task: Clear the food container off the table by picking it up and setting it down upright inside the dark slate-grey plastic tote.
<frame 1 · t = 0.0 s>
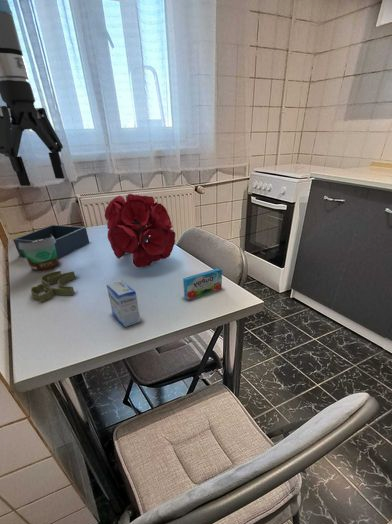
hand: (43, 181, 84), 28 cm above the table, tool pointing down, fingers open, 13 cm apart
light blue food packet: (203, 294, 85), on the table
medicine box: (126, 319, 76), on the table
bouquet: (141, 262, 107), on the table
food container: (49, 268, 105), on the table
tote: (56, 249, 122), on the table
cookie cutter: (55, 288, 92), on the table
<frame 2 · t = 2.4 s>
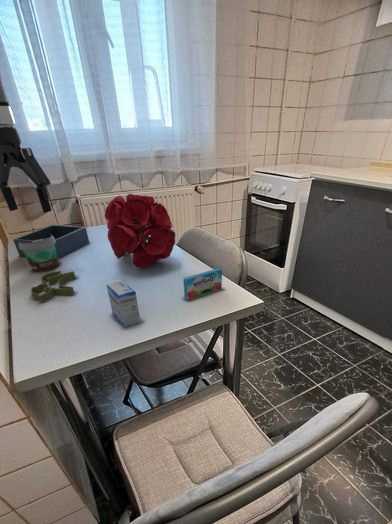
hand: (30, 210, 93), 19 cm above the table, tool pointing down, fingers open, 13 cm apart
nothing on the table moved.
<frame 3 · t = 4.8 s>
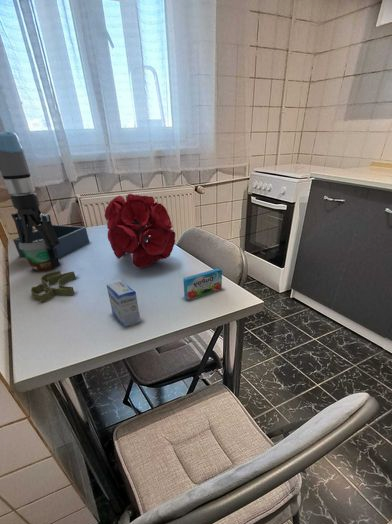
hand: (47, 265, 105), 1 cm above the table, tool pointing down, fingers closed on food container, 7 cm apart
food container: (49, 268, 105), on the table, touching gripper
everything else where it was.
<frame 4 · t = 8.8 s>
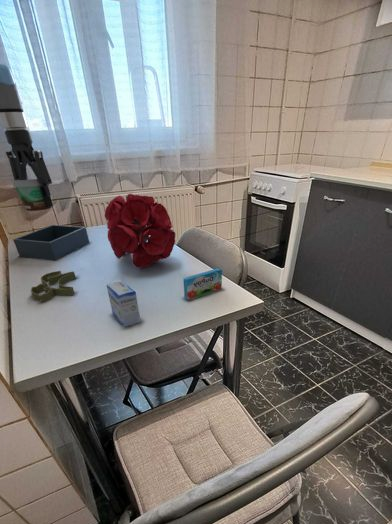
hand: (40, 205, 110), 17 cm above the table, tool pointing down, fingers closed on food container, 7 cm apart
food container: (42, 209, 111), point 16 cm above the table, touching gripper
everything else where it was.
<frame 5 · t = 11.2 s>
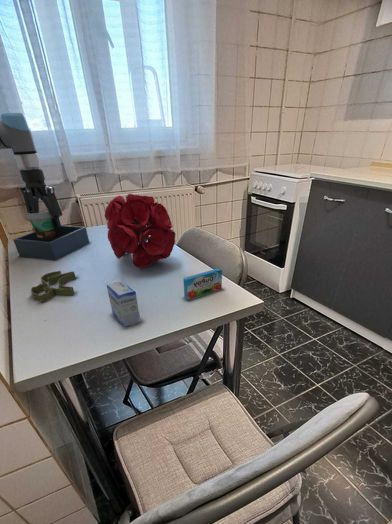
hand: (51, 234, 118), 6 cm above the table, tool pointing down, fingers closed on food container, 7 cm apart
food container: (53, 237, 119), point 5 cm above the table, touching gripper
everything else where it was.
when the fingers open (2 cm above the table, at t = 12.9 s): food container stays where it is, resting on tote.
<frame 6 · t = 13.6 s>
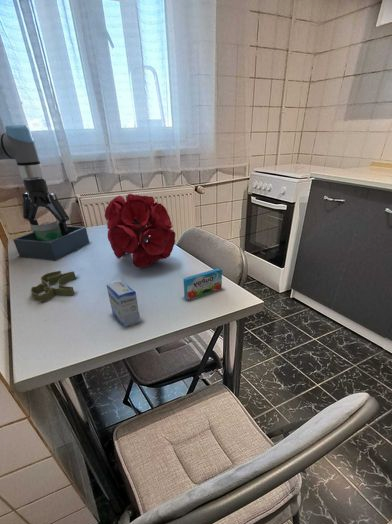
hand: (52, 238, 119), 4 cm above the table, tool pointing down, fingers open, 13 cm apart
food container: (56, 248, 122), resting on tote
everything else where it was.
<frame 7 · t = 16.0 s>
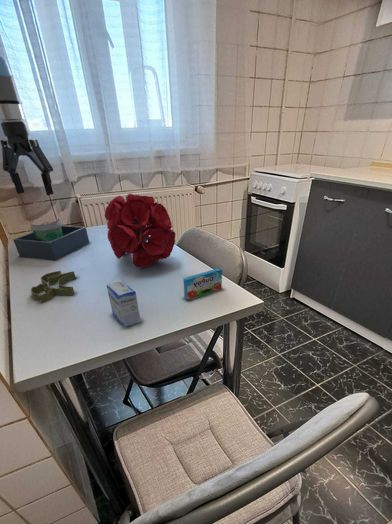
hand: (35, 193, 109), 21 cm above the table, tool pointing down, fingers open, 13 cm apart
nothing on the table moved.
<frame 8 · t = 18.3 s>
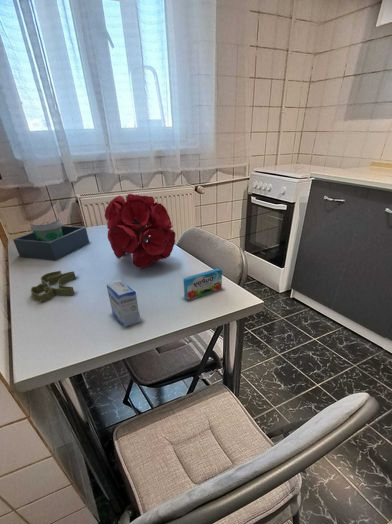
nothing on the table moved.
at the end: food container inside the target area in the tote (0.3 cm from its centre), point 0.4 cm above the tote's base; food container tilted 0°; the gripper is holding nothing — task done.
